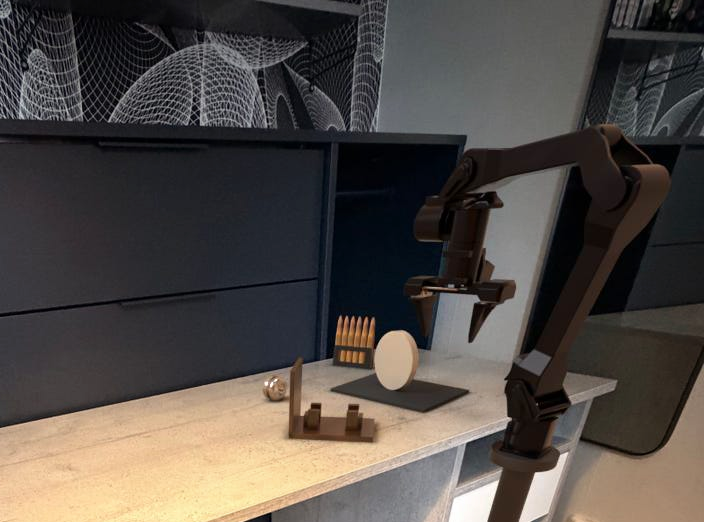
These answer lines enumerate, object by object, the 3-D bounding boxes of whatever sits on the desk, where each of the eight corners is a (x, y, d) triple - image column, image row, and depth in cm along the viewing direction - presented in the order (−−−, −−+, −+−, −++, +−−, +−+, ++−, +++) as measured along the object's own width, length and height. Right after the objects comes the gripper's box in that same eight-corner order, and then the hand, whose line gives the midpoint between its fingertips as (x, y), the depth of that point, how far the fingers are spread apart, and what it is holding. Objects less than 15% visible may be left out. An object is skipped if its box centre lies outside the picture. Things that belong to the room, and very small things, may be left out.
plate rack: (374, 423, 99) (382, 358, 92) (372, 442, 91) (381, 372, 84) (296, 420, 102) (298, 357, 95) (288, 438, 95) (290, 371, 88)
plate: (418, 388, 109) (418, 327, 104) (412, 390, 108) (412, 328, 103) (380, 388, 119) (379, 332, 114) (375, 390, 118) (373, 333, 114)
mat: (468, 392, 111) (469, 389, 111) (423, 412, 102) (423, 409, 102) (377, 374, 127) (377, 372, 126) (330, 390, 118) (330, 388, 117)
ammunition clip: (332, 365, 137) (335, 315, 130) (335, 363, 138) (338, 314, 131) (369, 369, 131) (375, 318, 124) (372, 367, 132) (378, 316, 125)
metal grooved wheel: (279, 396, 116) (279, 373, 113) (288, 398, 114) (288, 375, 111) (262, 400, 114) (262, 377, 111) (271, 403, 112) (272, 380, 109)
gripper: (542, 238, 86) (516, 338, 95) (441, 239, 98) (426, 327, 107) (512, 243, 80) (487, 349, 89) (408, 243, 92) (395, 336, 101)
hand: (447, 339), depth 97 cm, fingers open, 9 cm apart
